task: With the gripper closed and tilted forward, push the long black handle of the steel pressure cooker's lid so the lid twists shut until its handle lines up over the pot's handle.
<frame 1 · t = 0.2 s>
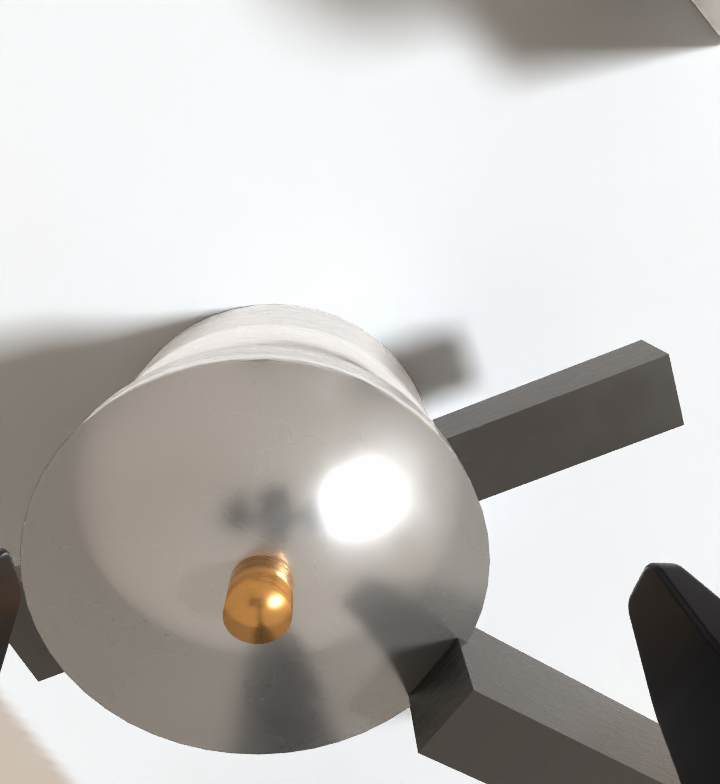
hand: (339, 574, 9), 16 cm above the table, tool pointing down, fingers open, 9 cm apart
cooker pot: (278, 454, 25), on the table
cooker lid: (441, 680, 19), point 9 cm above the table, hinge at -55.0°
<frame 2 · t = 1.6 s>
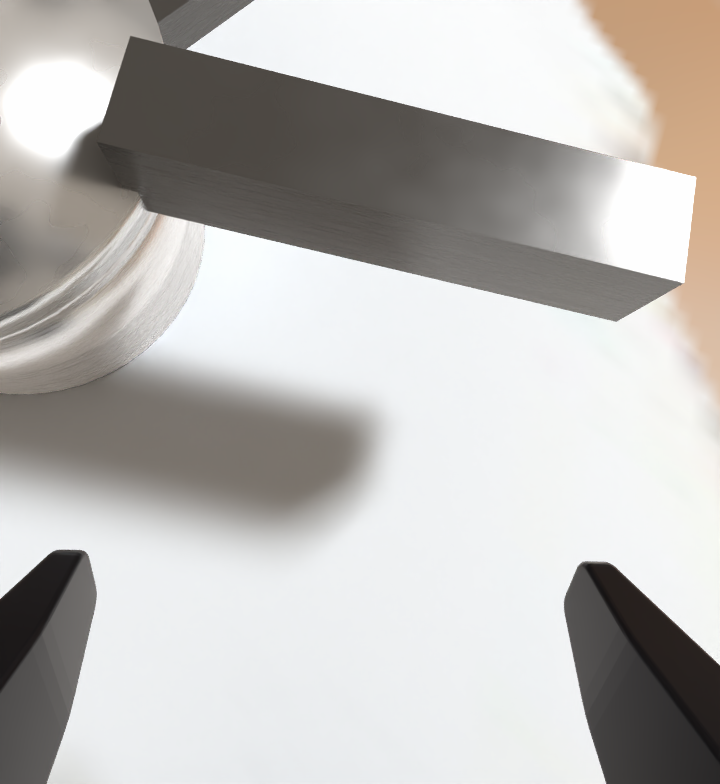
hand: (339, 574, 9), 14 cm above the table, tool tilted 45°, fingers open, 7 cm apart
cooker pot: (34, 229, 23), on the table
cooker lid: (143, 133, 15), point 9 cm above the table, hinge at -55.0°
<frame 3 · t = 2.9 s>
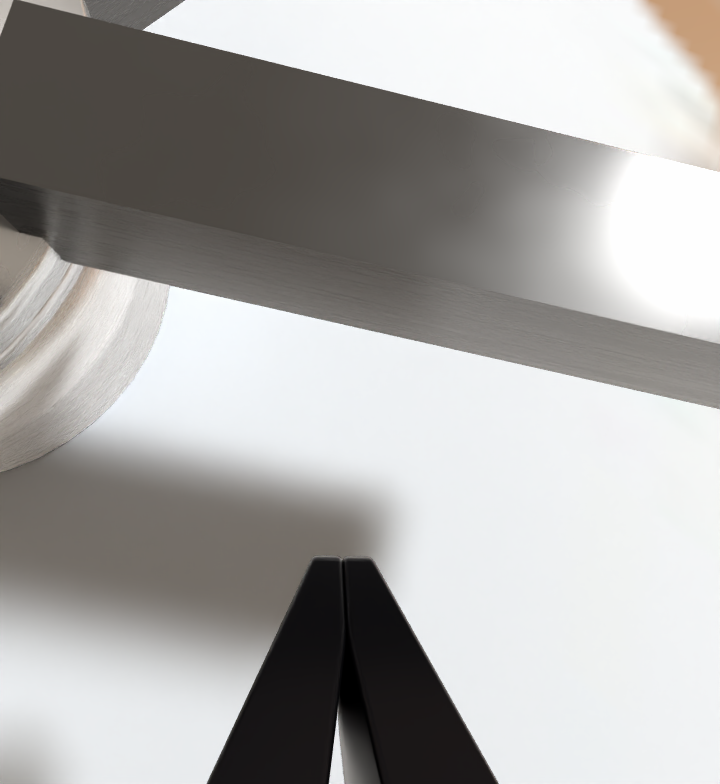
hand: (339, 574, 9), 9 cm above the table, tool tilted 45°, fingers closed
cooker lid: (49, 151, 10), point 9 cm above the table, hinge at -55.0°
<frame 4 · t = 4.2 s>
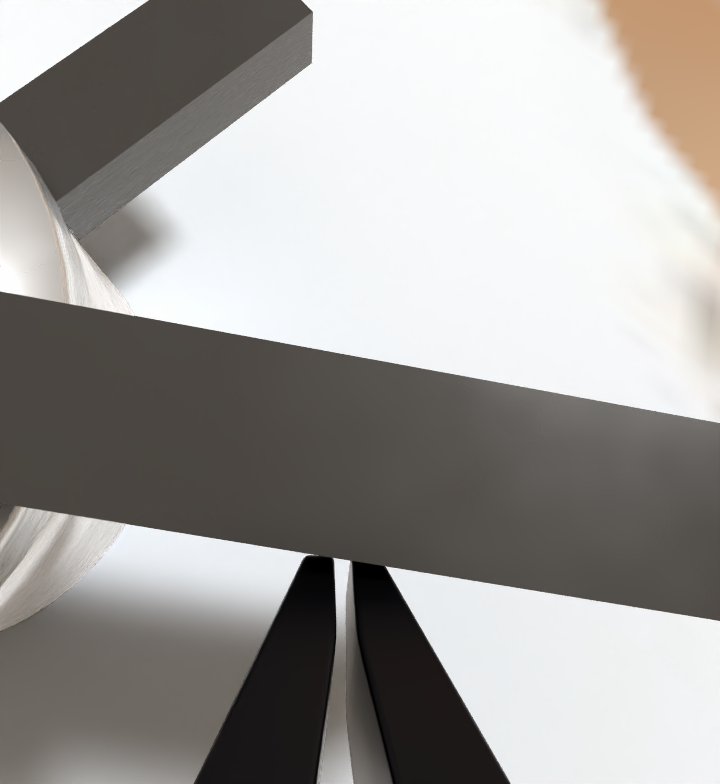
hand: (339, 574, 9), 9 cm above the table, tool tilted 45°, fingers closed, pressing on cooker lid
cooker lid: (22, 408, 9), point 9 cm above the table, hinge at -52.8°, touching gripper
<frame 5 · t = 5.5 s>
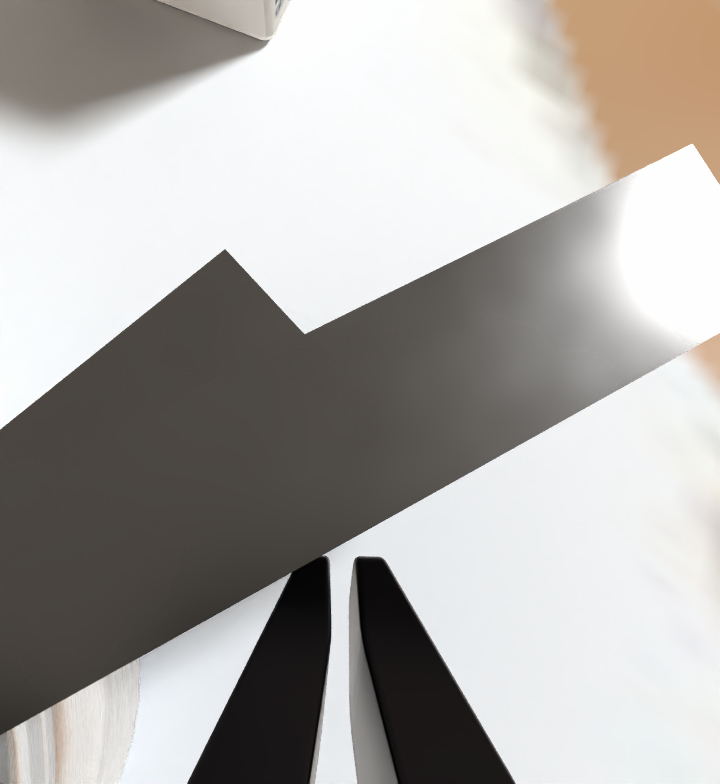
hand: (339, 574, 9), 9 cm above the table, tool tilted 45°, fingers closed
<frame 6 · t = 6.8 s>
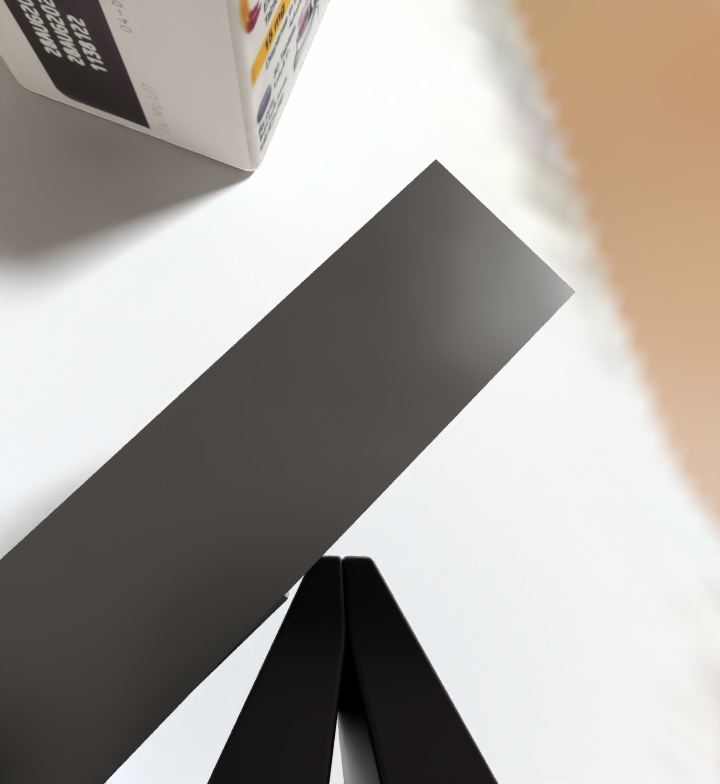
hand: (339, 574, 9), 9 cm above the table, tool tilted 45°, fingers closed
container: (187, 37, 20), on the table
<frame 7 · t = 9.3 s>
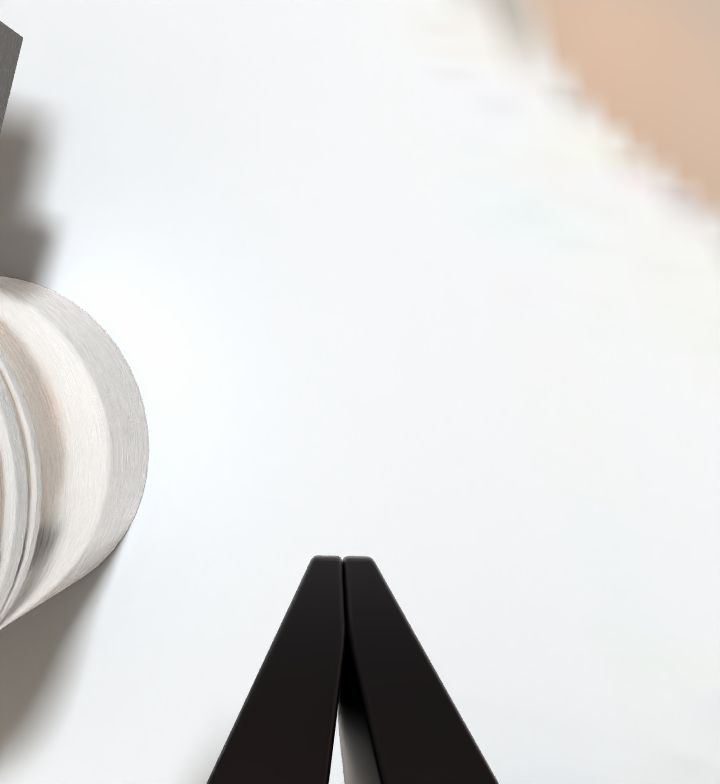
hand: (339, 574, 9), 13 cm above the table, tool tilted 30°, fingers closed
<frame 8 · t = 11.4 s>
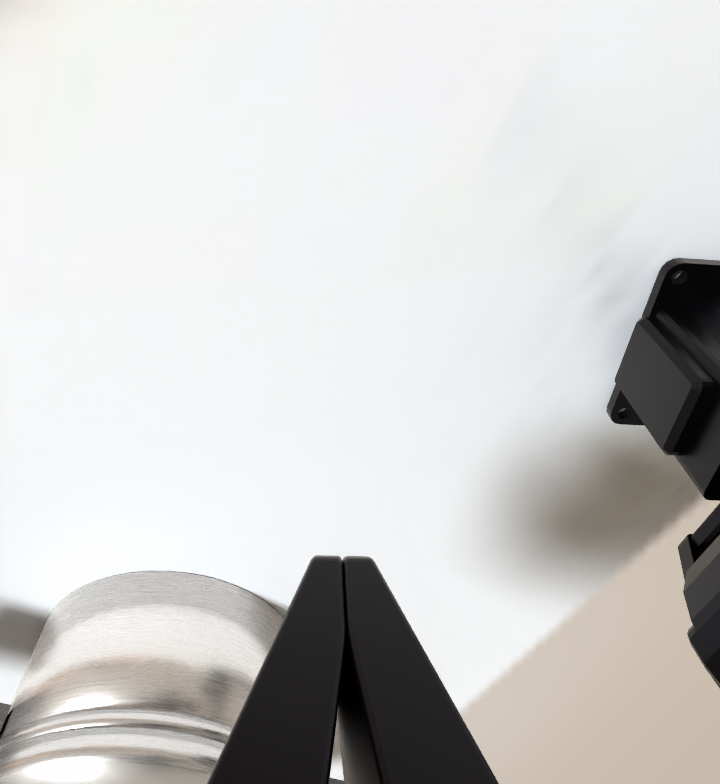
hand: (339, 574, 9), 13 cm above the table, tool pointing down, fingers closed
cooker pot: (173, 651, 31), on the table
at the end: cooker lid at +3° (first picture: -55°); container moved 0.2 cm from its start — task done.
